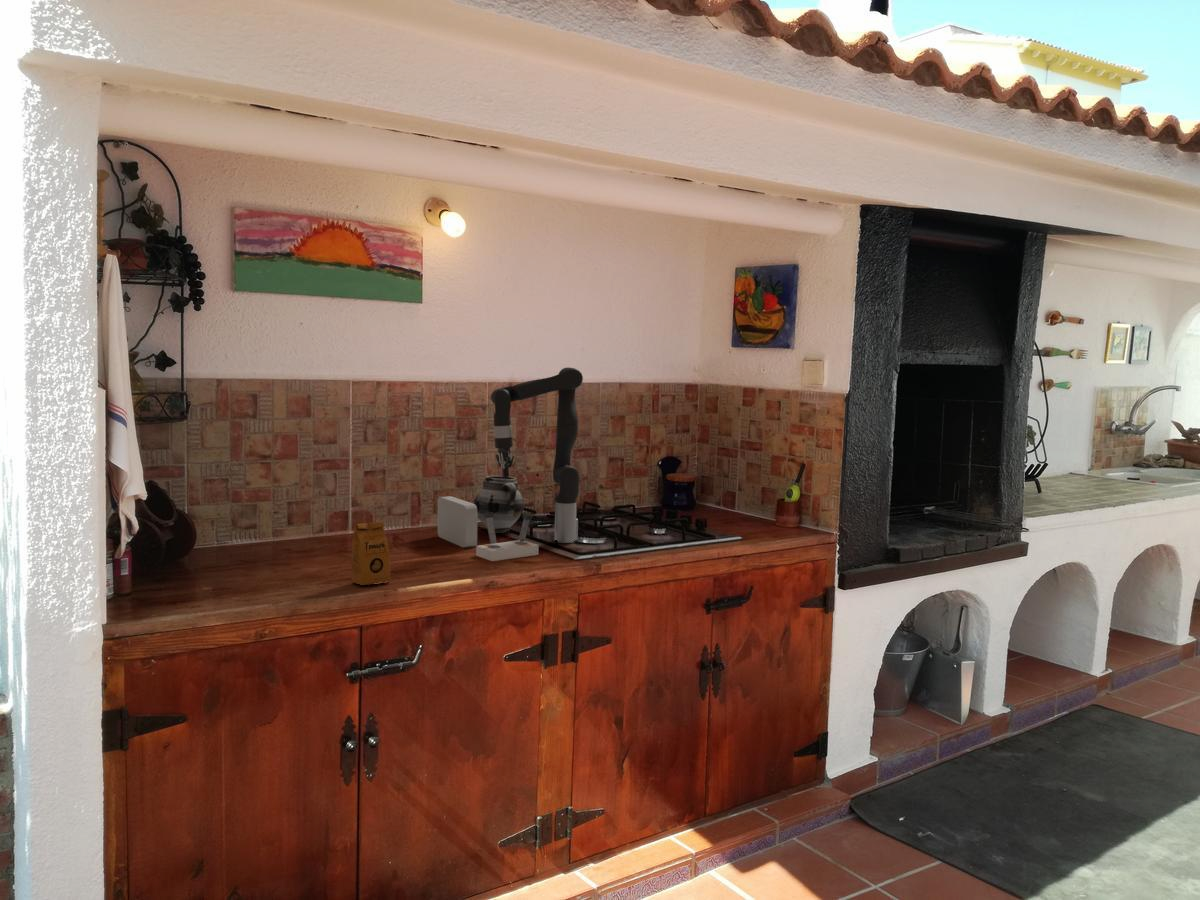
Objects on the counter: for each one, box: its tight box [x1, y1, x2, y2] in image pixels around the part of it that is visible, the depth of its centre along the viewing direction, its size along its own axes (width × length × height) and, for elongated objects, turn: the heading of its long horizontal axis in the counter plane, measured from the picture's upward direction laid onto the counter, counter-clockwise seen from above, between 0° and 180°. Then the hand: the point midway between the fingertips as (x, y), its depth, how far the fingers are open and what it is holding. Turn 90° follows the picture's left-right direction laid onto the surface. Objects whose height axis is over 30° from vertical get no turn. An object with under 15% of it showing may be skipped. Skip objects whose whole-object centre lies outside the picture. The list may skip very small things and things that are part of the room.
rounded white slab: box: [437, 495, 478, 548], centre depth 413 cm, size 29×8×18 cm, turn 33°
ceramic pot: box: [473, 475, 525, 534], centre depth 438 cm, size 29×23×25 cm
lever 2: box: [517, 511, 534, 542], centre depth 390 cm, size 3×3×12 cm
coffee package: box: [351, 520, 391, 586], centre depth 338 cm, size 10×12×22 cm
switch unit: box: [475, 539, 539, 562], centre depth 389 cm, size 22×12×4 cm, turn 128°
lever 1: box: [484, 512, 498, 544], centre depth 386 cm, size 3×3×12 cm
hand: (505, 477), depth 407 cm, fingers closed
